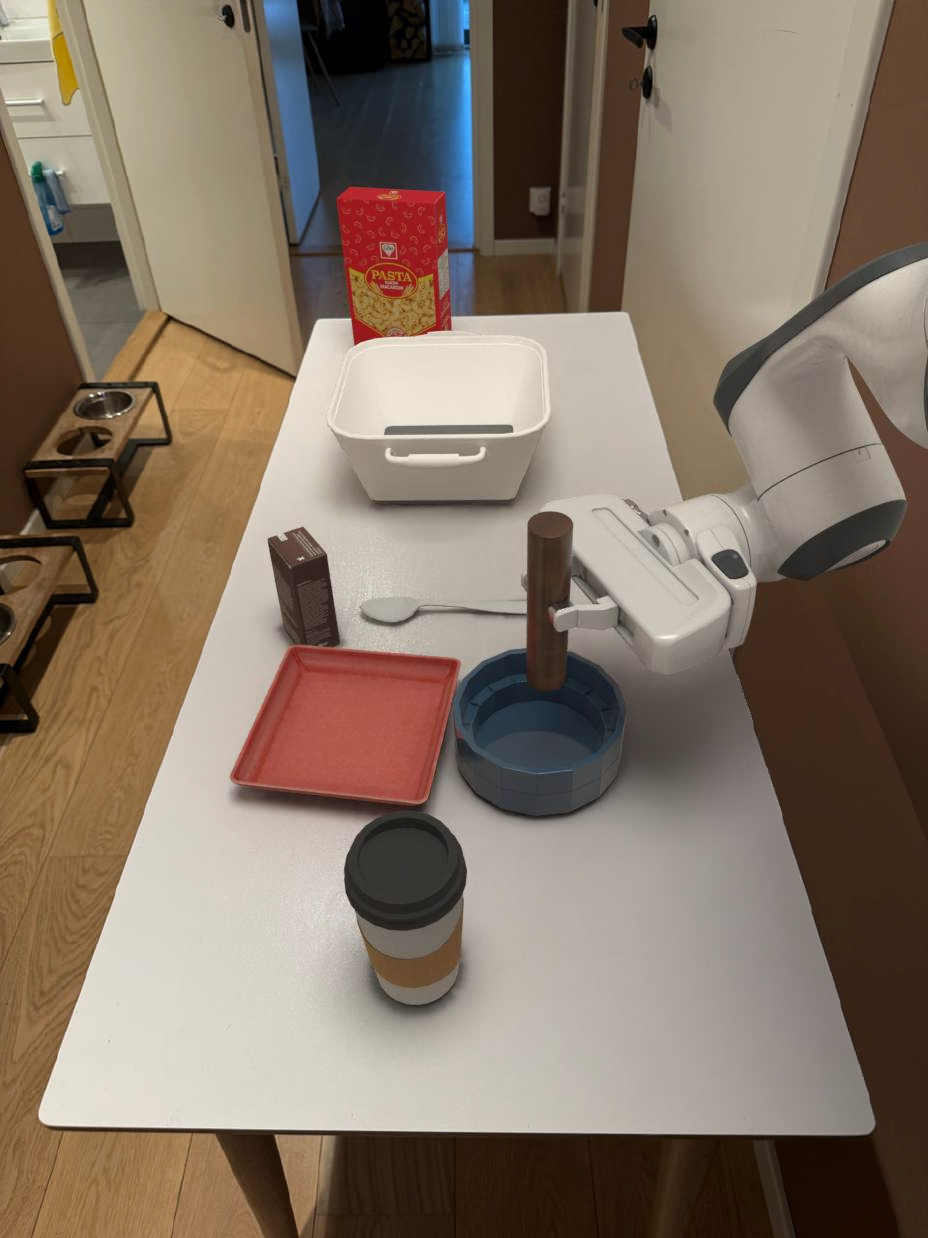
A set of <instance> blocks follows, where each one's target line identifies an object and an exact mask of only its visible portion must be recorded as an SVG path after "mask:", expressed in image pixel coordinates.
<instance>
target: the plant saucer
mask: <svg viewBox="0 0 928 1238" xmlns="http://www.w3.org/2000/svg"><path fill="white" fill-rule="evenodd" d="M461 666H462V662H461V661H460V660H459V659H458V658H455V657H448V656H436V655H425V654H413V653H403V652H402V653H401V652H391V651H377V650H365V649H353V648H342V647H334V646H332V647H320V646H311V645H296V644H293V645H289V646H288V647H287V649H286V651H285V653H284V656H283V657H282V660H281V661H280V664H279V666H278V668H277V671H276V673H275V674H274V677H273V680H272V681H271V684H270V685H269V688H268V690H267V693H266V695H265V697H264V700H263V701H262V703H261V706H260V708H259V711H258V712H257V714H256V717H255V718H254V722H253V723H252V726H251V728H250V730H249V732H248V734H247V737H246V739H245V740H244V743H243V745H242V747H241V750H240V752H239V754H238V756H237V758H236V761H235V762H234V765H233V768H232V769H231V772H230V773H229V780H230V782H231V783H232V784H235V785H238V786H240V787H241V786H242V787H246V788H250V789H257V790H263V791H264V790H265V791H273V792H282V793H293V794H302V795H311V796H319V797H320V796H321V797H328V798H336V799H346V800H354V801H355V800H356V801H363V802H373V803H381V804H389V805H399V806H407V807H408V806H409V807H411V806H419V805H422V804H424V803H425V802H426V801H427V800H428V799H429V796H430V792H431V788H432V784H433V781H434V777H435V773H436V768H437V765H438V761H439V757H440V753H441V748H442V744H443V741H444V736H445V731H446V728H447V724H448V719H449V716H450V711H451V708H452V707H451V706H452V704H453V700H454V695H455V691H456V686H457V682H458V678H459V674H460V671H461Z"/></svg>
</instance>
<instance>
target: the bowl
mask: <svg viewBox="0 0 928 1238" xmlns="http://www.w3.org/2000/svg"><path fill="white" fill-rule="evenodd" d="M627 713H628V708H627V705H626V702H625V699H624V696H623V694H622V691H621V687H620V685H619V684H618V682H616V681H615V679H613V677H611V675H610V674H609V673H608V672H607V671H606V670H605V669H604V668H603V667H602V665H600V664H598V663H597V662H594V661H592V660H591V659H588V658H586V657H584V656H582V655H580V654H578V653H575V652H573V651H570V650H567V670H566V681H565V683H564V685H563V686H562V687H561V688H559V689H557V690H555V691H550V692H543V691H539V690H536V689H534V688H532V687H531V686H530V685H529V684H528V682H527V680H526V647H522V648H513V649H512V648H511V649H508V650H506V651H503V652H501V653H498V654H496V655H493V656H491V657H489V658H486V659H484V660H482V661H481V662H479V663H478V664H477V665H476V666H475V667H474V668H473V669H472V670H471V671H469V673H467V674H466V675H465V676H464V677H463V678H462V679H461V681H460V683H459V685H458V688H457V691H456V693H455V696H454V697H453V700H452V714H453V716H452V717H453V731H454V733H453V734H454V746H455V752H456V753H455V754H456V761H457V767H458V768H457V769H458V770H459V773H461V775H462V776H463V778H464V779H465V780H466V782H467V783H468V784H469V786H470V787H471V789H472V790H473V791H474V793H476V794H477V795H479V796H480V797H482V798H484V799H485V800H487V801H488V802H490V803H492V804H493V805H495V806H497V807H498V808H500V809H502V810H506V811H510V812H515V813H521V814H525V815H530V816H535V817H536V816H537V817H538V816H546V815H555V814H563V813H571V812H573V811H575V810H577V809H578V808H580V807H582V806H585V805H587V804H588V803H590V802H593V801H595V800H597V799H598V798H600V796H601V795H602V794H603V793H604V792H605V791H606V789H607V788H609V786H610V784H611V783H612V782H613V781H614V780H615V779H616V777H617V776H618V772H619V768H620V762H621V757H622V753H623V746H624V738H625V737H624V736H625V728H626V722H627V721H626V720H627Z"/></svg>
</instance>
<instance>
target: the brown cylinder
mask: <svg viewBox="0 0 928 1238" xmlns="http://www.w3.org/2000/svg"><path fill="white" fill-rule="evenodd" d="M526 525H527V526H526V527H527V529H526V530H527V531H526V532H527V533H526V536H527V537H526V538H527V539H526V569H527V592H526V601H527V614H526V644H525V645H526V647H525V648H526V680H527V682H528V684H529V685H530V686H531V687H532V688H534V689H536V690H539V691H543V692H550V691H555V690H557V689H559V688H561V687H562V686H563V685H564V683H565V681H566V670H567V651H568V650H569V649H568V647H569V646H568V645H569V629H568V630H565V631H562V632H558V631H557V630H556V629H555V628H554V627H553V625H552V624H551V623H550V621H549V620H548V615H549V613H548V608H549V607H550V605H552V604H554V603H560V602H561V601H563V600H567V599H569V600H570V601H571V585H572V579H571V566H572V545H573V521H572V520H571V518H570V517H568V516H567V515H565V514H563V513H560V512H555V511H545V512H540V513H539V512H538V513H535V514H533V515H532V516H531V517H530V518H528V521H527V524H526Z"/></svg>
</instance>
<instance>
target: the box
mask: <svg viewBox="0 0 928 1238" xmlns="http://www.w3.org/2000/svg"><path fill="white" fill-rule="evenodd" d="M266 541H267V547H268V552H269V557H270V561H271V562H270V563H271V567H272V571H273V577H274V582H275V588H276V594H277V599H278V605H279V609H280V614H281V619H282V625H283V629H285V631H286V632H287V634H288V635H289V637H290V638H291V640H292V641H293V642H294V645H311V646H320V647H334V646H337V645H338V644H340V643H341V640H340V634H339V633H340V632H339V625H338V619H337V611H336V606H335V598H334V592H333V586H332V579H331V572H330V566H329V558H328V553H327V552H326V551H325V549H324V548H323V547H322V546H321V545H320V544H319V543H318V541H317V540H316V539H315V538H314V537H313V536H312V534H311V533H310V532H309V531H308V530H307V529H306V528H305V526H300V527H298V528H293V529H290V530H288V531H285V532H282V533H280V534H276V535H273V536H270V537H268V538H267V540H266Z"/></svg>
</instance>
